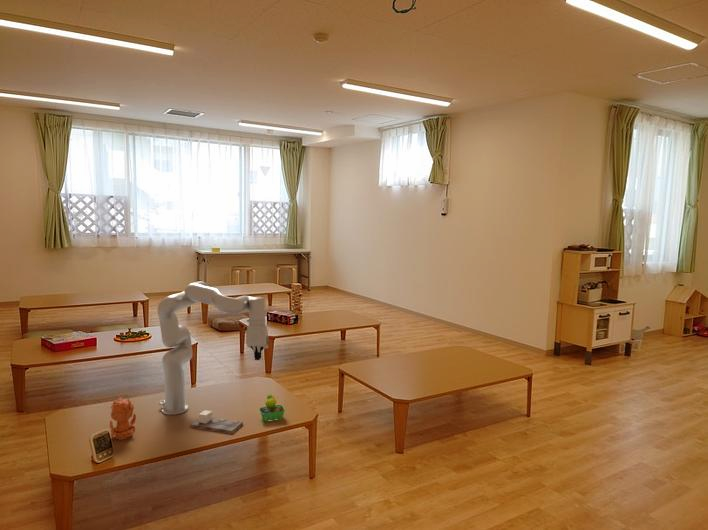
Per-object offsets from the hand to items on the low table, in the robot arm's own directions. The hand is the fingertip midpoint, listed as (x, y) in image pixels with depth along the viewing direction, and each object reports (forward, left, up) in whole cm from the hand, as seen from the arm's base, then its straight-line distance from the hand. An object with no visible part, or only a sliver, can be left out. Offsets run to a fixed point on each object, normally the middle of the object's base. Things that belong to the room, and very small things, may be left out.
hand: (257, 359), depth 231 cm
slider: (-20, -14, -28) cm, 37 cm away
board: (-14, -14, -30) cm, 36 cm away
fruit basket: (+7, +2, -30) cm, 31 cm away
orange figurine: (-48, -36, -30) cm, 67 cm away
